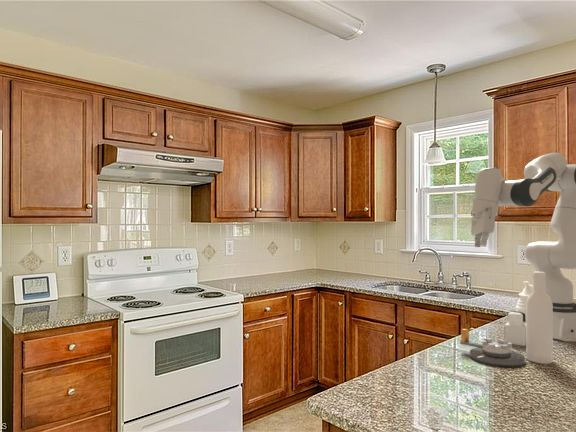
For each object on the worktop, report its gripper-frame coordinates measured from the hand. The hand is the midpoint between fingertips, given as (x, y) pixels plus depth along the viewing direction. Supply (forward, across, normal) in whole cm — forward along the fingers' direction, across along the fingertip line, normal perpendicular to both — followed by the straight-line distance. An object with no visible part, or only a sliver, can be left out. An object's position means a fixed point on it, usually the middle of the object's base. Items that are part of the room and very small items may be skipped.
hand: (480, 246), depth 159 cm
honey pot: (+26, +63, -40) cm, 79 cm away
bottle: (+36, -5, -22) cm, 43 cm away
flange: (+38, -6, -9) cm, 39 cm away
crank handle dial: (+36, -4, -5) cm, 37 cm away
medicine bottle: (+34, +17, -21) cm, 43 cm away
